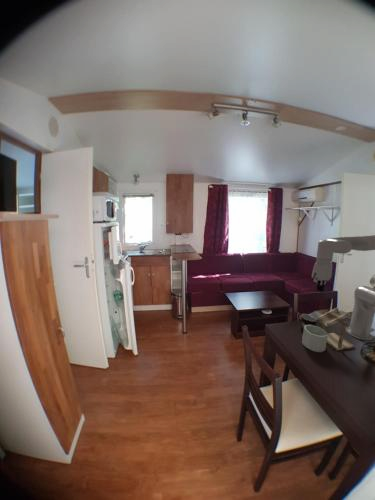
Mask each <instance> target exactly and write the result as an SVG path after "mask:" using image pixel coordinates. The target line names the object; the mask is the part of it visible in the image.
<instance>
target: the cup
mask: <svg viewBox="0 0 375 500" xmlns="http://www.w3.org/2000/svg"><path fill="white" fill-rule="evenodd" d="M321 327H322V326H321ZM321 327H320V326H317V325H316V326H314V325H304V331H303V332H302V337H301V338H302V340H301V344H302V345H303V346H304V347H305V348H306V349H308V350H309V351H312V352H314V353H323V352H324V351H325V352H326V348H327V344H328V343H327V338H328V331H327V330H324V329H322V328H321Z"/></svg>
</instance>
